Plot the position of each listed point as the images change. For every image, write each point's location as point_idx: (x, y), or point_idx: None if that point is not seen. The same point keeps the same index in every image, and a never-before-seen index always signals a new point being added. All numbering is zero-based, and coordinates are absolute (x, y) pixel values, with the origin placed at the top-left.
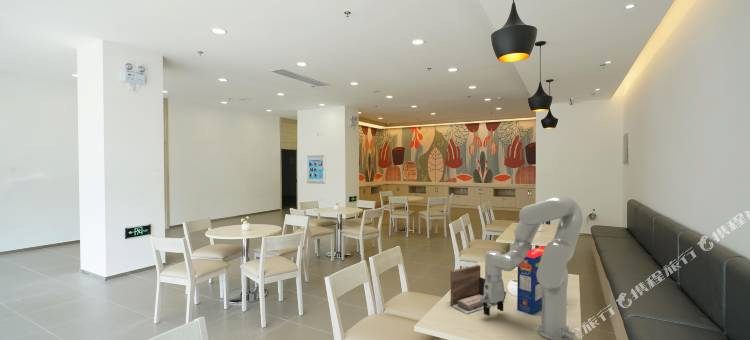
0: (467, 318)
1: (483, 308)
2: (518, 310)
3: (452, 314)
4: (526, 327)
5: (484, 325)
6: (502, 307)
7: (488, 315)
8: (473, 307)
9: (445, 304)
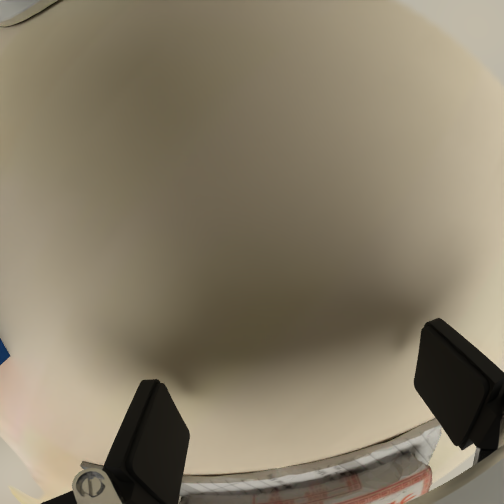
0: None
1: (261, 474)
2: (4, 346)
3: None
4: (131, 14)
5: (494, 216)
6: (142, 415)
7: (437, 323)
8: (368, 477)
9: None
